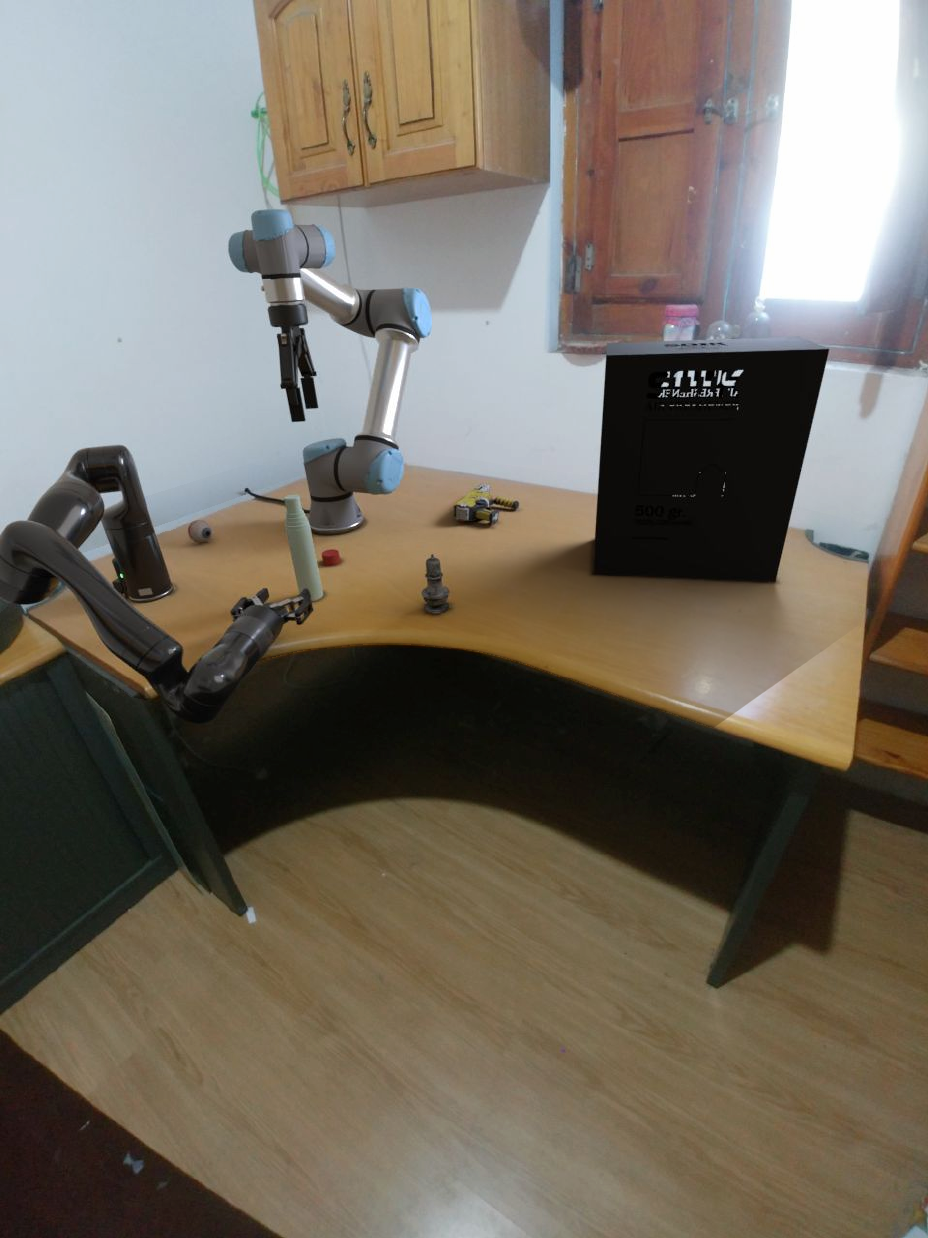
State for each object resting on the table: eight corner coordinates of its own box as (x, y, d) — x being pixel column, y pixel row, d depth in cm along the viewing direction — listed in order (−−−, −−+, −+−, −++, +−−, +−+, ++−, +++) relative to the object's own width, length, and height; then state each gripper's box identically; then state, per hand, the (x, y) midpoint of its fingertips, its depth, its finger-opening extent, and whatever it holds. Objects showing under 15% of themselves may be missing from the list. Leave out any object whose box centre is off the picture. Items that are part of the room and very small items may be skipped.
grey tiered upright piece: (447, 614, 122) (443, 560, 116) (419, 613, 123) (413, 559, 117) (453, 601, 127) (450, 548, 121) (426, 599, 128) (421, 547, 122)
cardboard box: (755, 543, 144) (798, 336, 121) (775, 581, 127) (829, 348, 104) (594, 538, 151) (606, 342, 129) (592, 573, 134) (606, 355, 112)
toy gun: (527, 488, 179) (479, 481, 183) (505, 513, 159) (452, 504, 162) (525, 503, 181) (478, 496, 185) (503, 529, 161) (451, 520, 165)
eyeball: (201, 547, 160) (195, 526, 157) (186, 543, 163) (180, 522, 160) (220, 539, 164) (214, 518, 161) (205, 536, 167) (199, 515, 164)
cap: (340, 564, 146) (339, 554, 145) (323, 567, 145) (321, 557, 144) (339, 557, 150) (338, 548, 148) (322, 560, 149) (321, 550, 148)
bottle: (318, 601, 130) (299, 500, 118) (297, 601, 130) (275, 500, 119) (326, 591, 134) (307, 492, 123) (304, 591, 135) (284, 492, 123)
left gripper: (219, 651, 109) (257, 607, 123) (293, 654, 107) (324, 609, 121) (208, 615, 105) (249, 574, 119) (285, 617, 103) (318, 575, 117)
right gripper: (282, 302, 130) (301, 404, 141) (248, 308, 109) (273, 428, 119) (317, 299, 130) (333, 402, 141) (290, 305, 108) (311, 426, 119)
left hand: (287, 592), depth 120 cm, fingers open, 8 cm apart
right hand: (305, 414), depth 130 cm, fingers open, 13 cm apart
